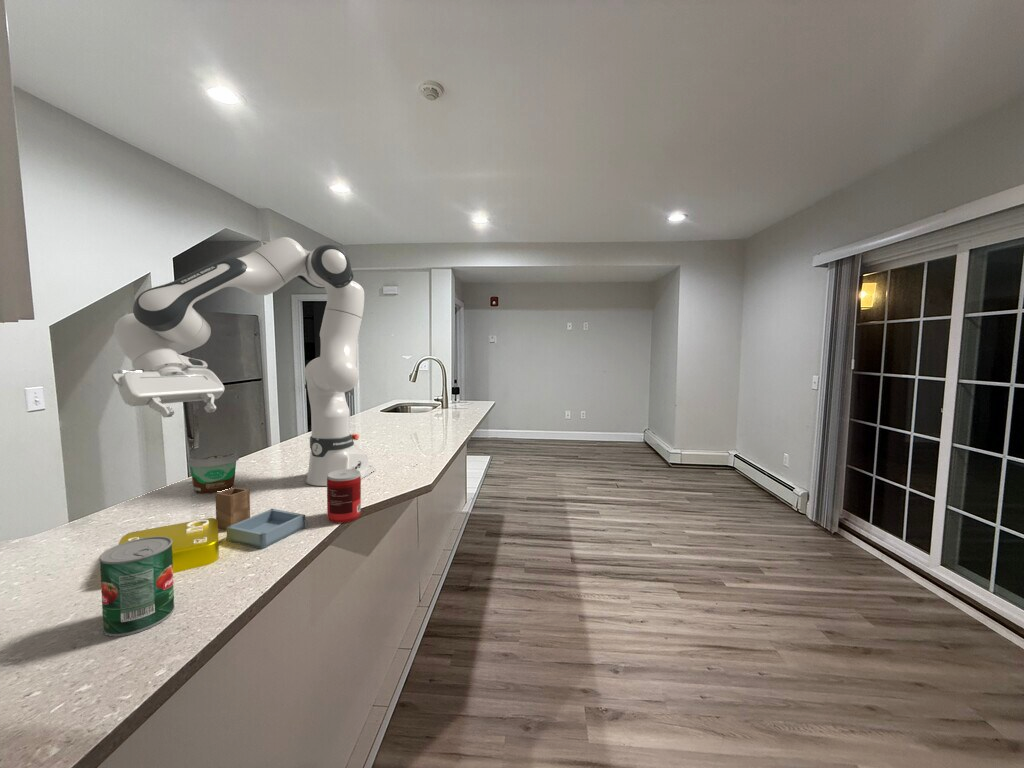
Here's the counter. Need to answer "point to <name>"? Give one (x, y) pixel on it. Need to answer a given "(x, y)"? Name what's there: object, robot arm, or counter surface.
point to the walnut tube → (232, 506)
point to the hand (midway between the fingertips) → (191, 413)
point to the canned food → (343, 495)
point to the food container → (213, 473)
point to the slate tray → (266, 528)
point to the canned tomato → (136, 585)
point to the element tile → (186, 542)
